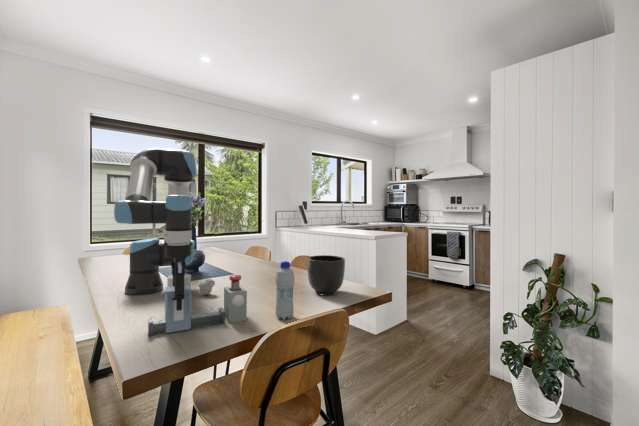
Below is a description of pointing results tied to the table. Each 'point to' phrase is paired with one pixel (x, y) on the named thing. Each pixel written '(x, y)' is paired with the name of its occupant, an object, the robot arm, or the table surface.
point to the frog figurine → (206, 286)
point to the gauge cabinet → (235, 304)
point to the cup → (186, 280)
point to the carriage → (169, 310)
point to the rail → (196, 321)
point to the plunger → (235, 282)
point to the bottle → (284, 291)
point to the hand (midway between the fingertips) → (177, 316)
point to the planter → (326, 273)
